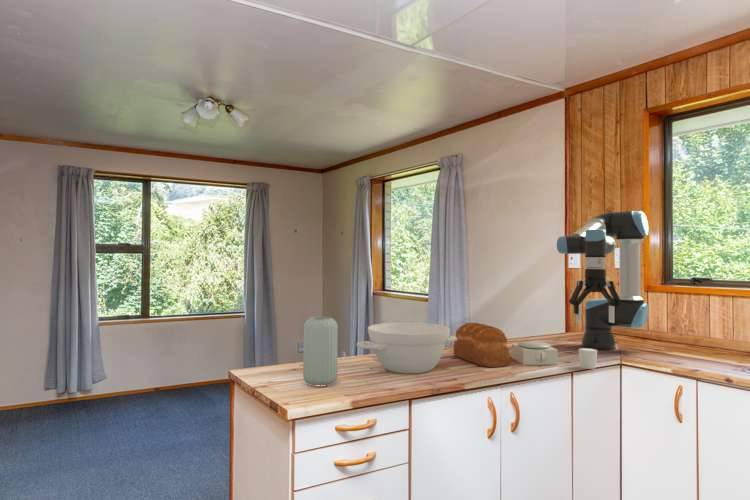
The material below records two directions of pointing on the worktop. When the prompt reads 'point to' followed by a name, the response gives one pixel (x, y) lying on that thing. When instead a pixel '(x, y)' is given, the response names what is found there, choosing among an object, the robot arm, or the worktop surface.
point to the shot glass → (587, 358)
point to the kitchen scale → (534, 353)
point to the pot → (408, 345)
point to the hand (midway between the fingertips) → (595, 322)
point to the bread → (482, 345)
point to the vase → (320, 350)
